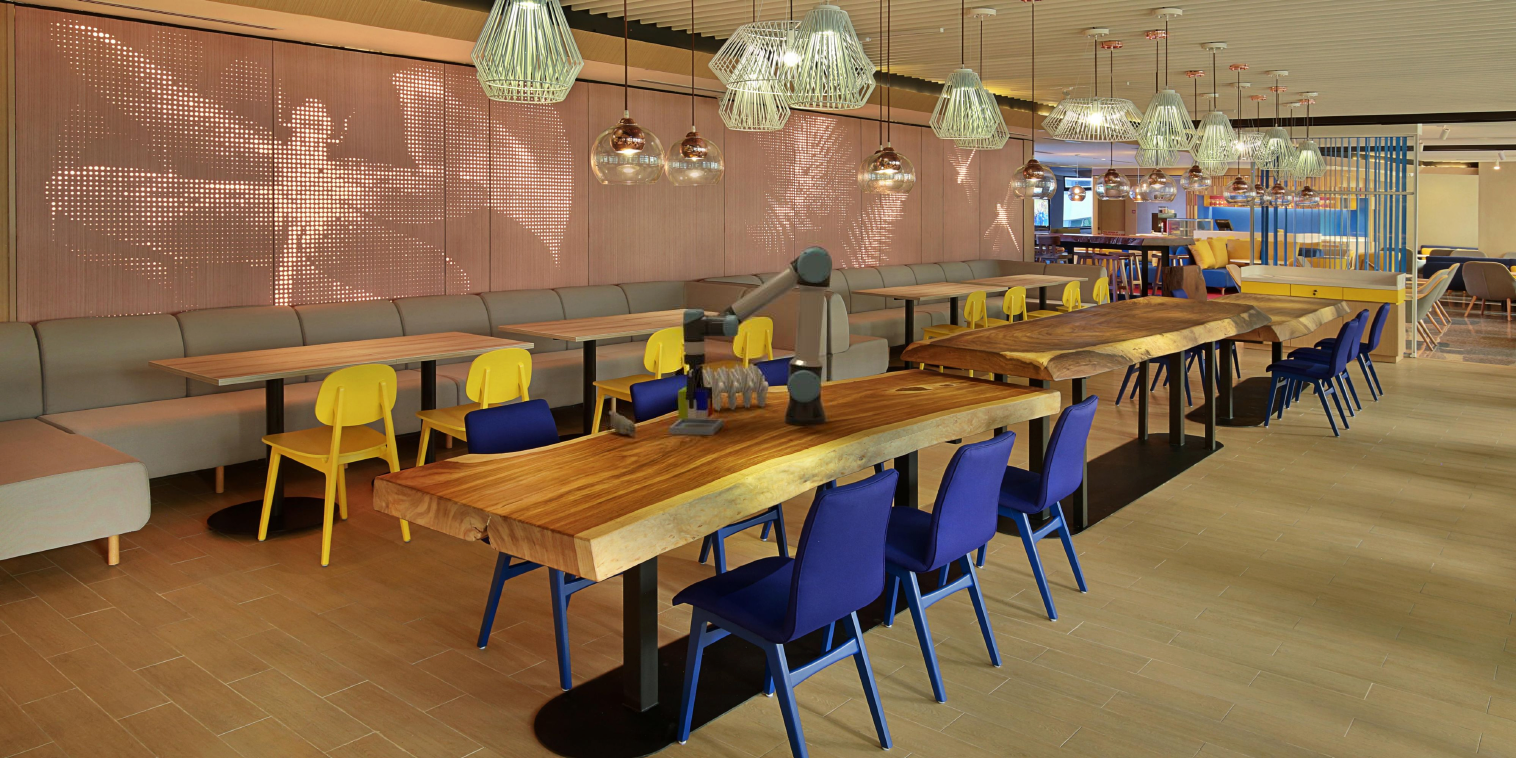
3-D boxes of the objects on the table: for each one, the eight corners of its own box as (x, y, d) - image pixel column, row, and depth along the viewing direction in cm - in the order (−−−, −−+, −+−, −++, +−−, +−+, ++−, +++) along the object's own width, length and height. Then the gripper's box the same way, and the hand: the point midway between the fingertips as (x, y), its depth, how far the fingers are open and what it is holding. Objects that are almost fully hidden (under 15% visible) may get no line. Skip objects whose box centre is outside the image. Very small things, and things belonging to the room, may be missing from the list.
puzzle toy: (705, 419, 364) (705, 391, 362) (678, 419, 366) (677, 391, 364) (712, 414, 373) (712, 387, 372) (686, 413, 375) (685, 386, 374)
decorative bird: (626, 439, 358) (626, 418, 356) (604, 432, 370) (603, 411, 369) (640, 437, 361) (639, 416, 360) (617, 429, 374) (617, 409, 372)
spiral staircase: (769, 418, 409) (710, 420, 400) (755, 392, 422) (697, 394, 413) (778, 379, 399) (717, 381, 390) (764, 355, 413) (704, 356, 404)
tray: (723, 425, 377) (722, 419, 376) (713, 435, 361) (713, 428, 361) (680, 424, 380) (680, 418, 379) (669, 434, 364) (668, 427, 364)
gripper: (691, 348, 377) (693, 408, 381) (676, 357, 355) (677, 420, 359) (711, 348, 376) (713, 408, 380) (697, 357, 354) (698, 421, 358)
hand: (695, 414), depth 369 cm, fingers closed on puzzle toy, 10 cm apart
